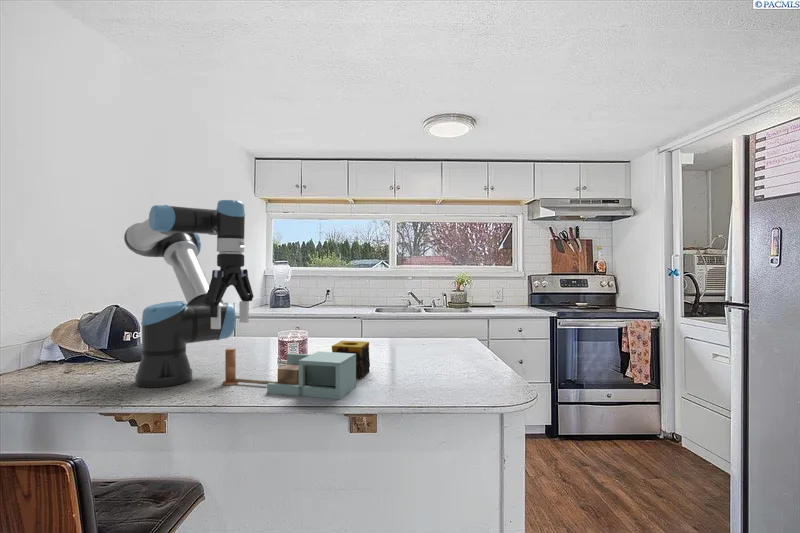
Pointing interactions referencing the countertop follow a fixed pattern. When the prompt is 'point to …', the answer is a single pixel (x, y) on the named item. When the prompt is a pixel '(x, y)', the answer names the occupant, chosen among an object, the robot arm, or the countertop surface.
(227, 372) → the tethered block
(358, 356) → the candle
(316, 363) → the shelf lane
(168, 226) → the robot arm
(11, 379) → the countertop surface
